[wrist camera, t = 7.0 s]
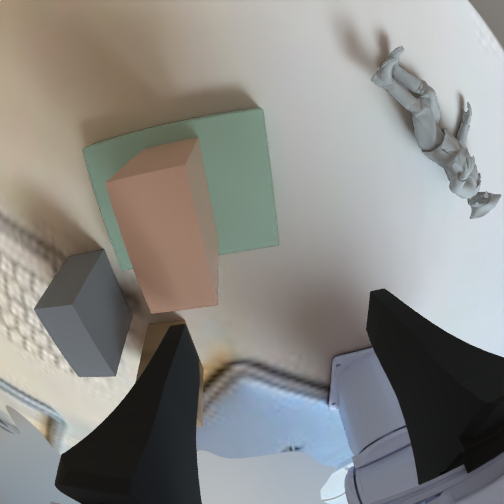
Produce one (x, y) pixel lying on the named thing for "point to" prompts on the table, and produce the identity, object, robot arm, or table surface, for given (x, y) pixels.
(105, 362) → the charcoal brick
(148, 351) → the walnut brick
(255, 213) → the sage board
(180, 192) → the terracotta brick
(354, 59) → the table surface
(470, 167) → the soldier figure
